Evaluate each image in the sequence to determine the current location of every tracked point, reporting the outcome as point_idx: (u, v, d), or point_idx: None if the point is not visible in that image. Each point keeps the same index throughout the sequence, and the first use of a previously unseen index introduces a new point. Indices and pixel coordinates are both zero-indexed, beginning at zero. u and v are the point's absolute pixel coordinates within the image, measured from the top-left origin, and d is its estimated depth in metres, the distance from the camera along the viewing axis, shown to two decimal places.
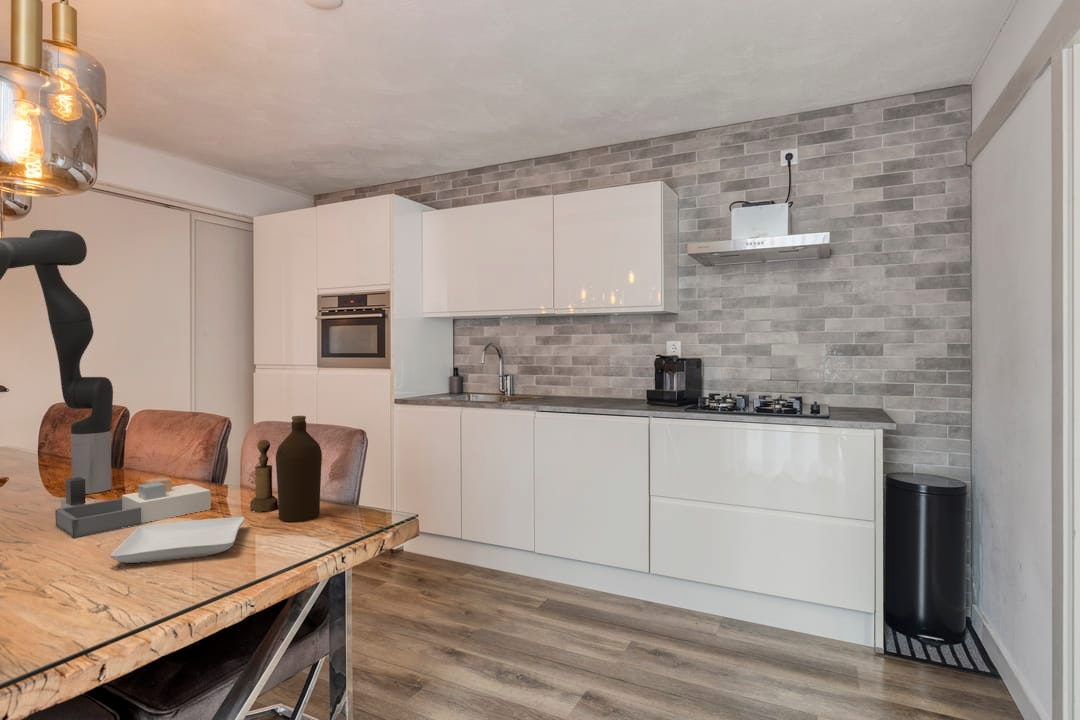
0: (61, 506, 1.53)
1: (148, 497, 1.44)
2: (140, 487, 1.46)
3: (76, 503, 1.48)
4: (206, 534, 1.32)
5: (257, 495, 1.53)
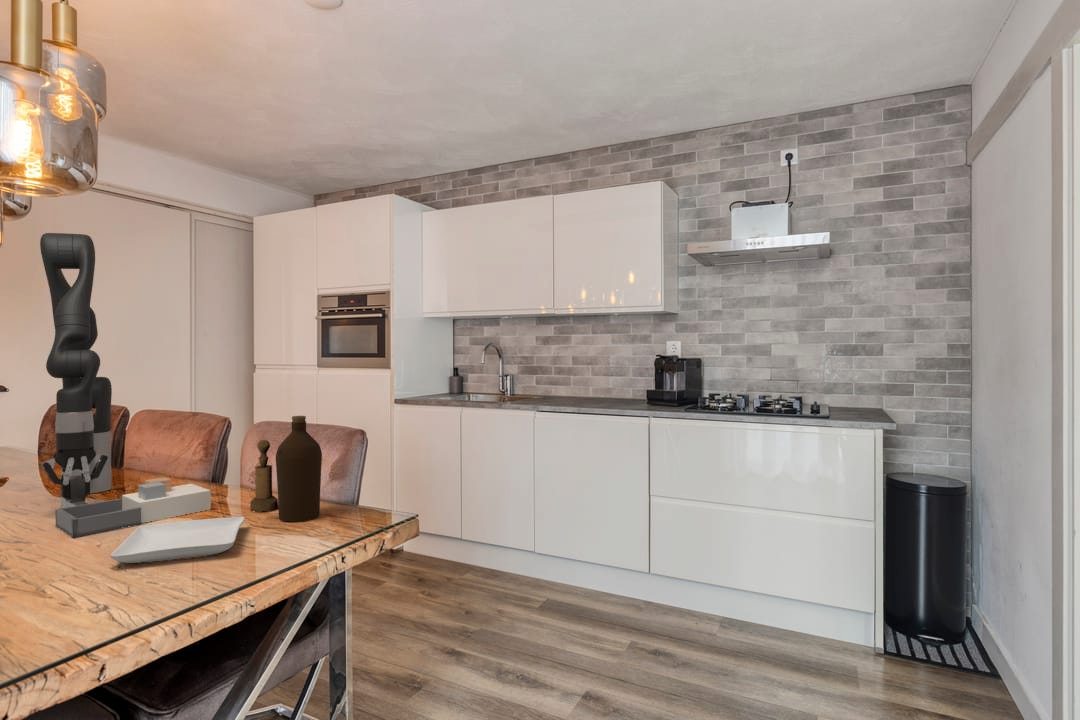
0: (61, 504, 1.54)
1: (148, 497, 1.44)
2: (140, 487, 1.46)
3: (76, 501, 1.48)
4: (206, 533, 1.32)
5: (257, 495, 1.53)
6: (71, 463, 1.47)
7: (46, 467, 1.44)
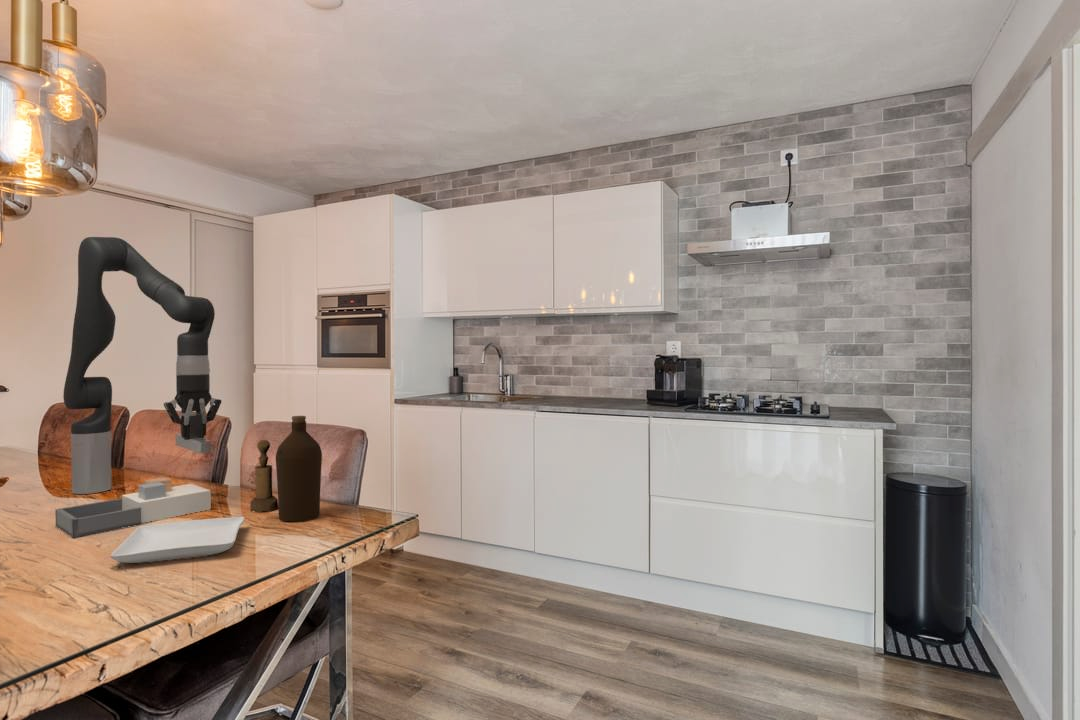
0: (176, 441, 1.60)
1: (148, 497, 1.44)
2: (140, 487, 1.46)
3: (194, 437, 1.55)
4: (206, 533, 1.32)
5: (257, 495, 1.53)
6: (191, 404, 1.54)
7: (170, 407, 1.50)
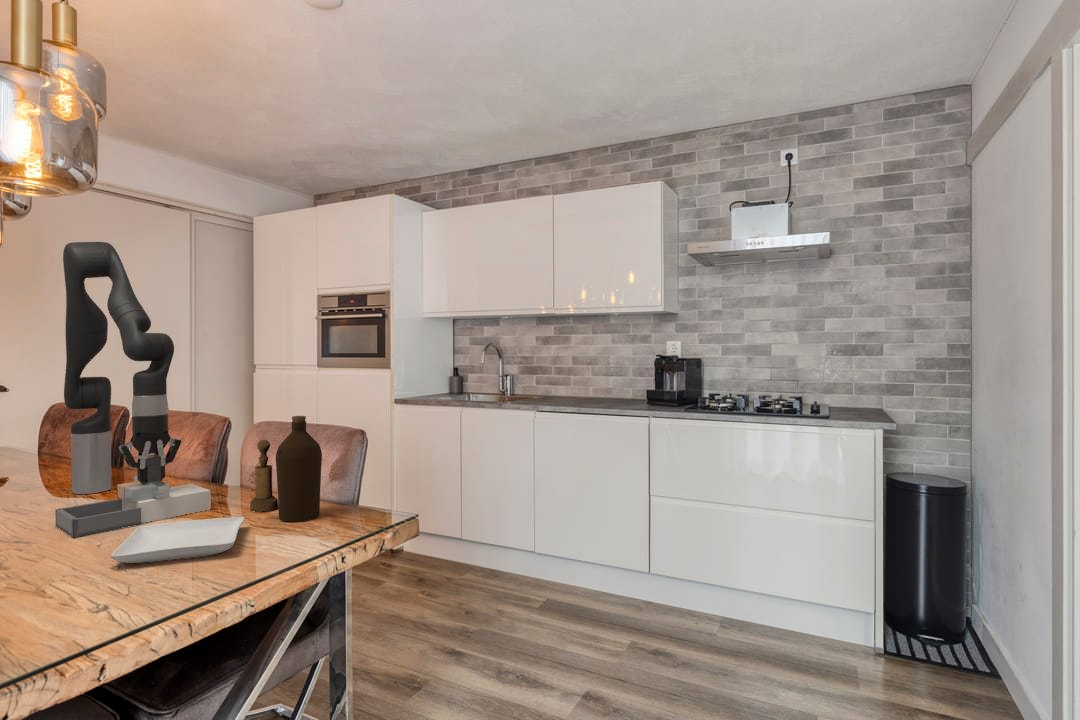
0: None
1: (135, 499, 1.42)
2: (127, 489, 1.43)
3: (152, 480, 1.47)
4: (206, 533, 1.32)
5: (257, 495, 1.53)
6: (148, 447, 1.46)
7: (124, 450, 1.43)
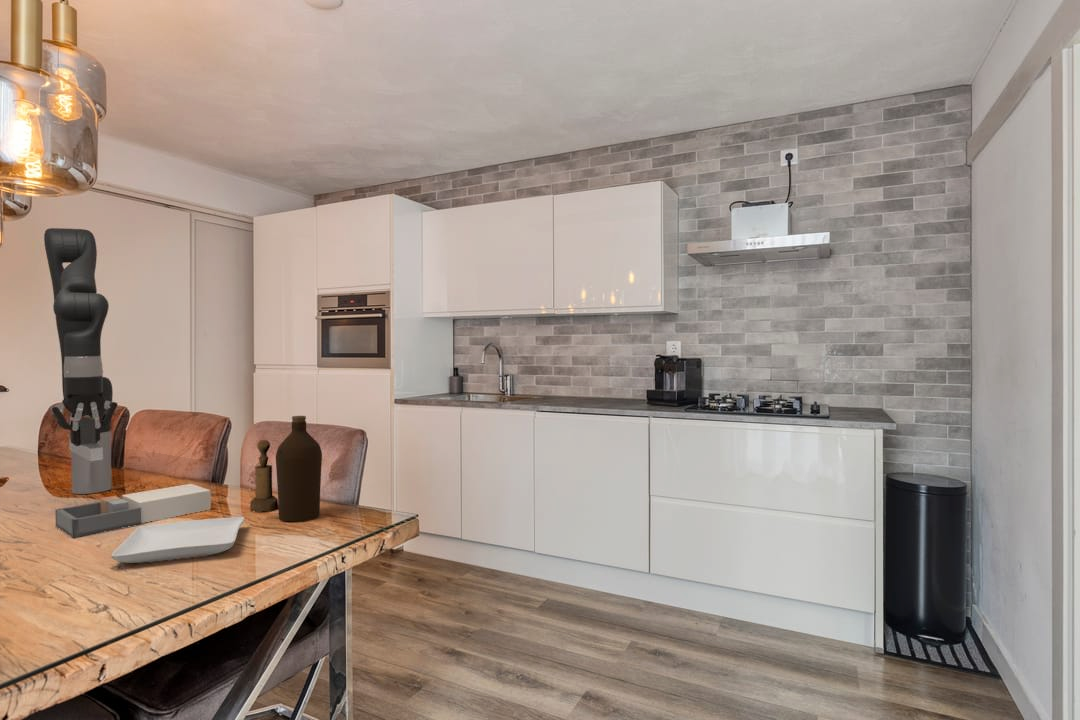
0: (69, 446, 1.50)
1: None
2: None
3: (86, 443, 1.45)
4: (206, 534, 1.32)
5: (257, 495, 1.53)
6: (81, 408, 1.44)
7: (55, 412, 1.41)
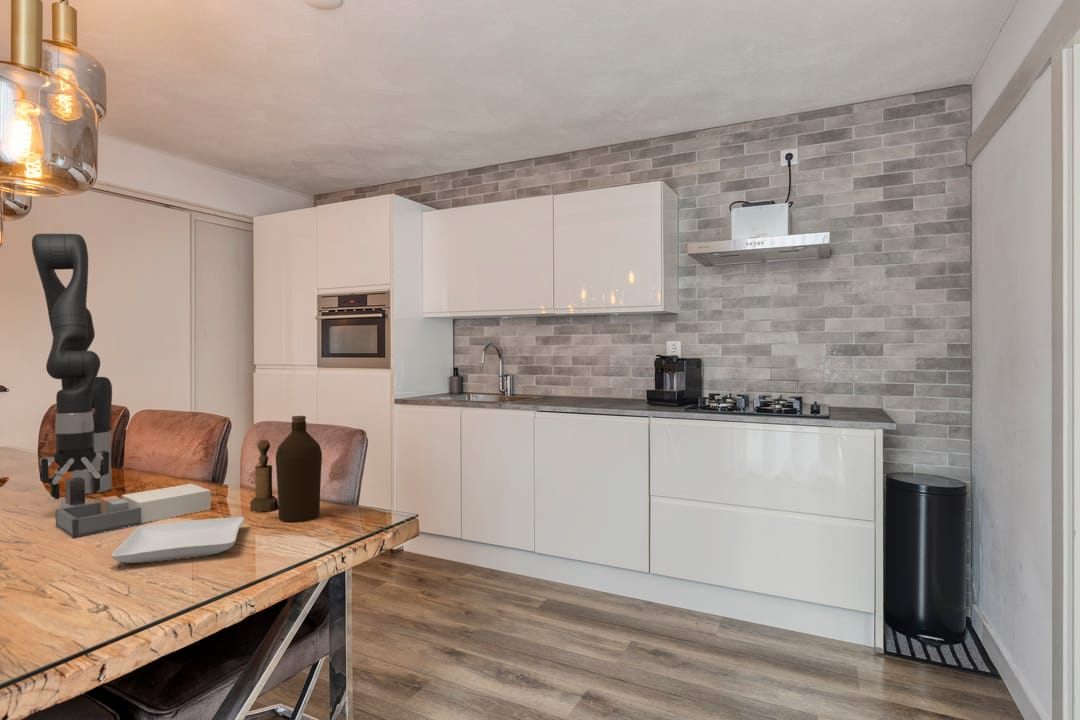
0: (61, 506, 1.54)
1: None
2: None
3: (76, 503, 1.48)
4: (206, 534, 1.32)
5: (257, 495, 1.53)
6: (69, 464, 1.47)
7: (43, 463, 1.44)
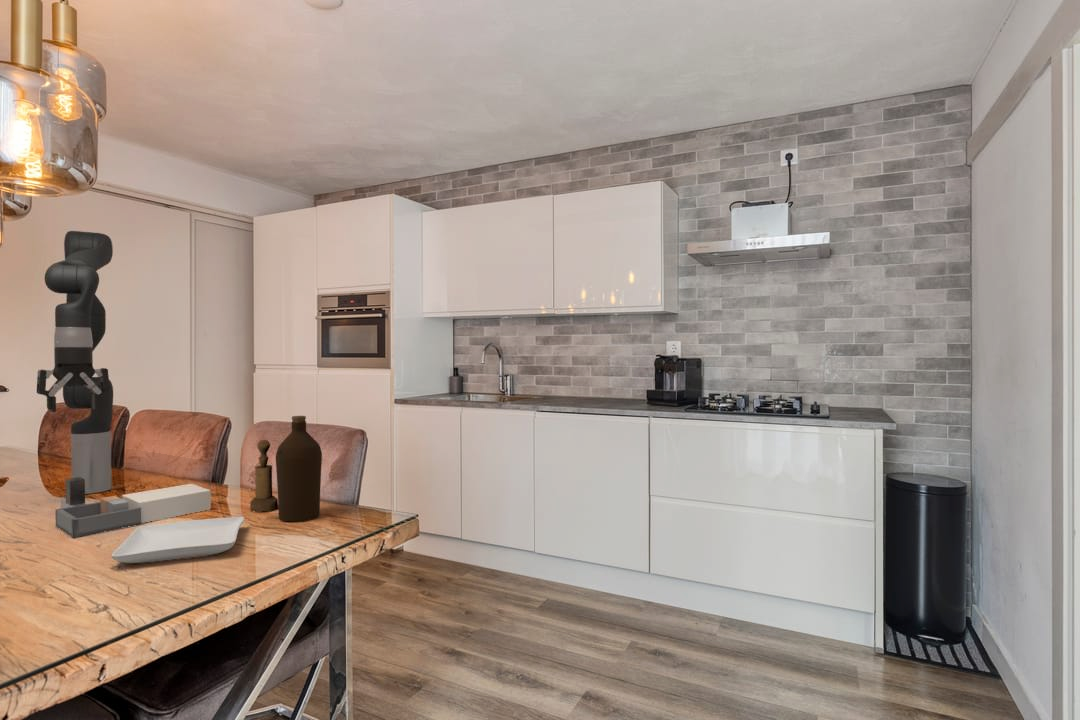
0: (61, 506, 1.54)
1: None
2: None
3: (76, 503, 1.48)
4: (206, 533, 1.32)
5: (257, 495, 1.53)
6: (68, 378, 1.46)
7: (42, 374, 1.43)
